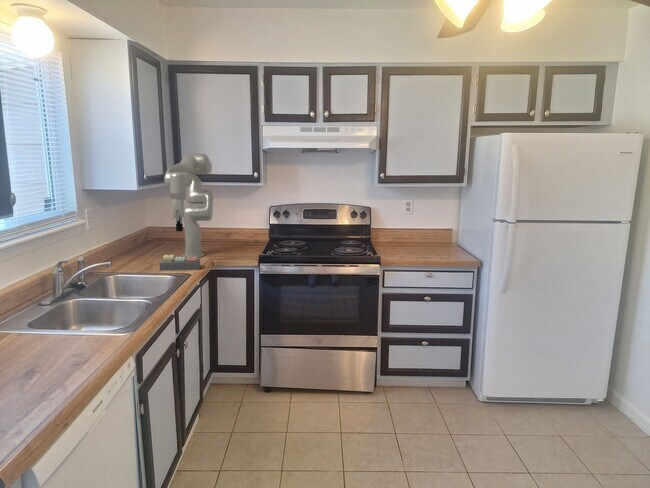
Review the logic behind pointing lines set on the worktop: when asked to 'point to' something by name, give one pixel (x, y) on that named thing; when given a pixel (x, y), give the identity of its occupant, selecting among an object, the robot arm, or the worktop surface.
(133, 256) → the worktop surface
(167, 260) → the tile one
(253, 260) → the worktop surface
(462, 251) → the worktop surface
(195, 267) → the console
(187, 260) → the tile three
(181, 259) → the tile two
